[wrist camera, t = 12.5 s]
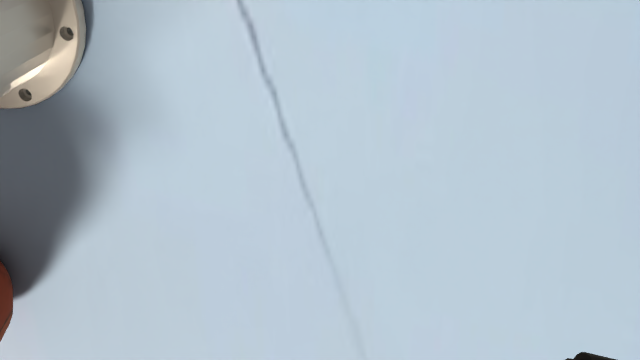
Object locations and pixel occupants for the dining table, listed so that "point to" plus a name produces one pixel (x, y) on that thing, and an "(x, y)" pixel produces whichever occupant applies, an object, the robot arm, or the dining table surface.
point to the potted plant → (5, 300)
